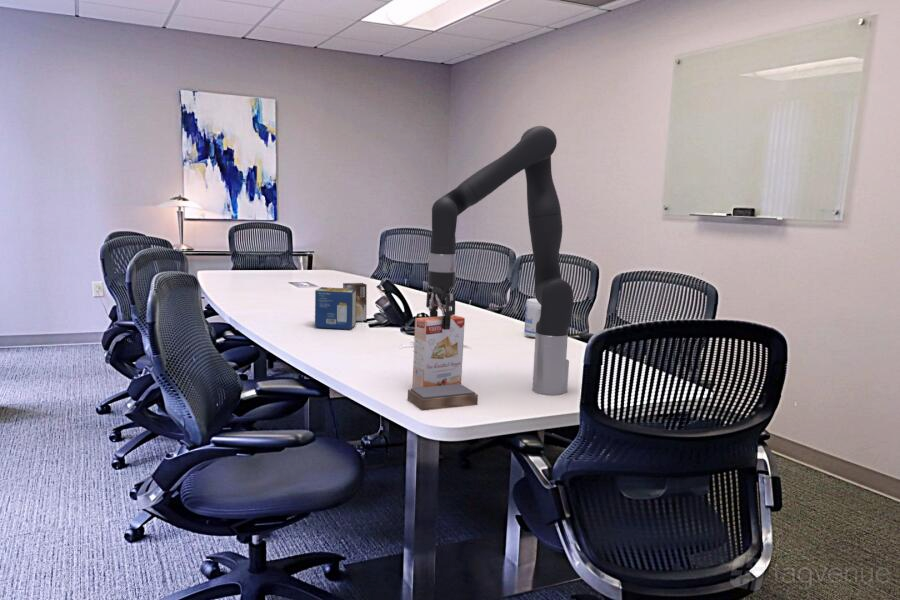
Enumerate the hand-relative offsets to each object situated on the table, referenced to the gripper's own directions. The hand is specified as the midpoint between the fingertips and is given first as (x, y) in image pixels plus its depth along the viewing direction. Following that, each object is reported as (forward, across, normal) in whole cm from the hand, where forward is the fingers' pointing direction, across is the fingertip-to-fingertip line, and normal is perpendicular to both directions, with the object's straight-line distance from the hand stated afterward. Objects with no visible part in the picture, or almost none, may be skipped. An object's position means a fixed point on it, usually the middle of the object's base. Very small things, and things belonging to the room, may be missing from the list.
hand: (439, 326), depth 194 cm
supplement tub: (+18, +60, -72) cm, 96 cm away
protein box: (+19, +100, +1) cm, 102 cm away
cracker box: (+18, 0, 0) cm, 19 cm away
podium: (+18, -13, +4) cm, 23 cm away
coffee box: (+19, +112, -11) cm, 114 cm away
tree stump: (+19, +54, -20) cm, 60 cm away
